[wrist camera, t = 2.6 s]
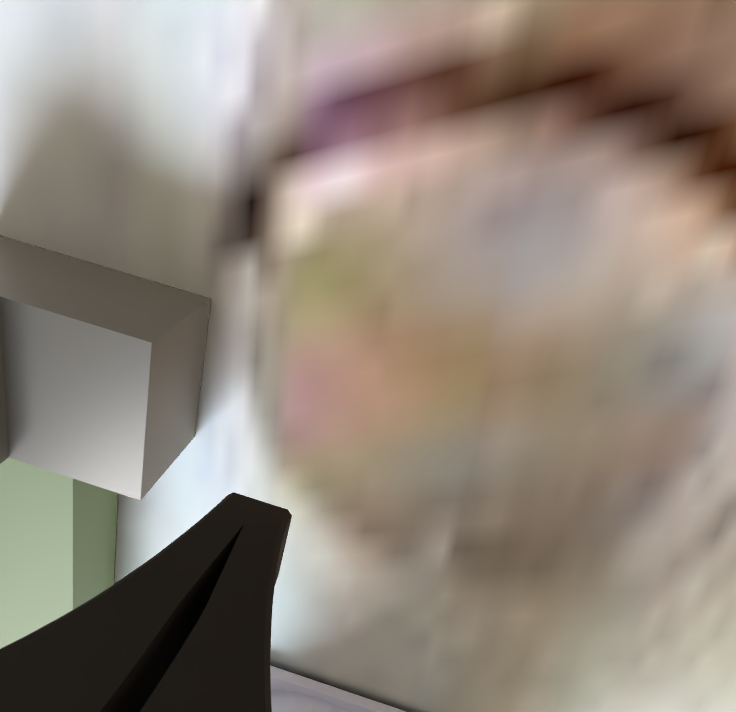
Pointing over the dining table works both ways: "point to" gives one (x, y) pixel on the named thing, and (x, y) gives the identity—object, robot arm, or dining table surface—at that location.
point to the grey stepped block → (96, 369)
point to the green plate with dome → (51, 546)
